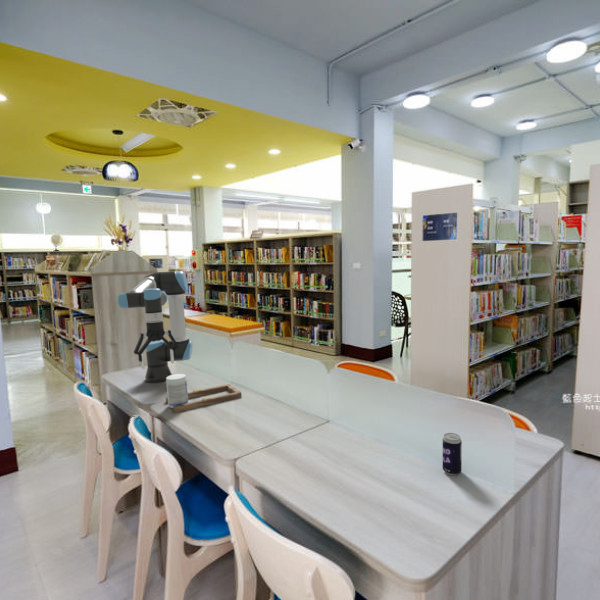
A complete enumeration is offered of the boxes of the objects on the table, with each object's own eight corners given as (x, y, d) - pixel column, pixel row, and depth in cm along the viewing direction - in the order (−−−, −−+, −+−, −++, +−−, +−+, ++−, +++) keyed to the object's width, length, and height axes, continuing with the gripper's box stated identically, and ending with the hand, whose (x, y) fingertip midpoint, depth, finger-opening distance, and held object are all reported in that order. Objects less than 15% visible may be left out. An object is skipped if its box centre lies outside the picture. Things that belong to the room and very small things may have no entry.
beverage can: (446, 465, 131) (446, 430, 130) (463, 470, 128) (464, 435, 127) (439, 472, 127) (439, 437, 126) (458, 478, 124) (458, 442, 122)
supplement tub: (191, 405, 195) (189, 376, 193) (173, 410, 188) (171, 380, 187) (182, 400, 202) (180, 372, 200) (164, 405, 195) (162, 376, 194)
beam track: (165, 402, 200) (165, 396, 200) (229, 388, 218) (228, 382, 218) (174, 412, 186) (174, 406, 186) (241, 396, 204) (241, 391, 203)
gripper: (127, 325, 177) (131, 372, 179) (183, 319, 190) (186, 362, 192) (124, 323, 183) (128, 368, 185) (178, 317, 196) (181, 359, 198)
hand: (158, 365), depth 189 cm, fingers open, 13 cm apart
